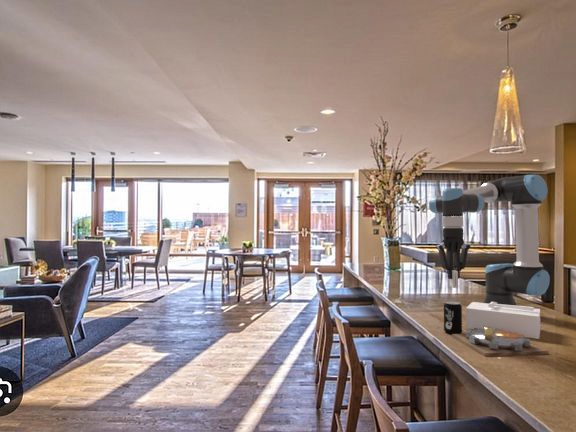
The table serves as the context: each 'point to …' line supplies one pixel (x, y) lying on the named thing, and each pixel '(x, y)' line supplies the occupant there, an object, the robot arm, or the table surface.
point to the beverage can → (452, 317)
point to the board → (500, 352)
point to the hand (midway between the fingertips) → (453, 287)
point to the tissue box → (504, 318)
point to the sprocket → (497, 338)
